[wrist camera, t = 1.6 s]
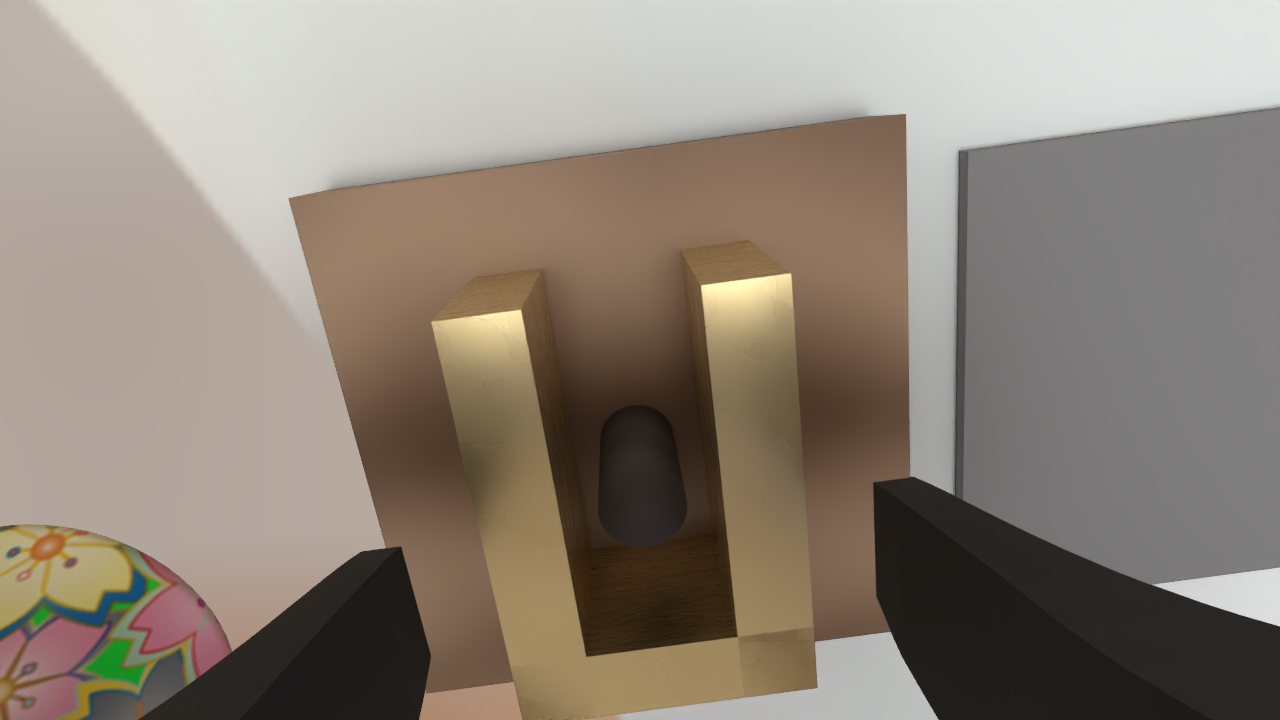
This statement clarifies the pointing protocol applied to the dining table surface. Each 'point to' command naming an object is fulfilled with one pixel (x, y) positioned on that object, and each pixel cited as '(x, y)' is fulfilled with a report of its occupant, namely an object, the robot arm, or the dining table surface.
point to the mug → (95, 628)
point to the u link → (623, 575)
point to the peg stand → (624, 346)
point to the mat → (1126, 343)
